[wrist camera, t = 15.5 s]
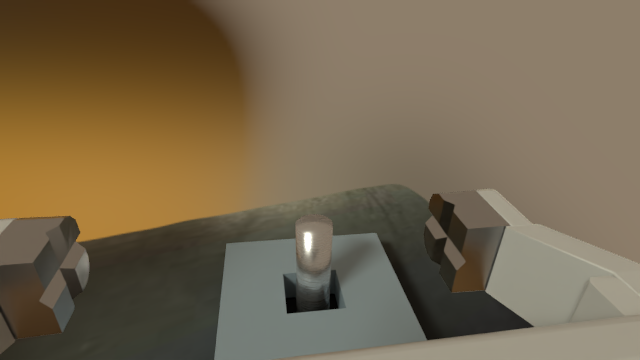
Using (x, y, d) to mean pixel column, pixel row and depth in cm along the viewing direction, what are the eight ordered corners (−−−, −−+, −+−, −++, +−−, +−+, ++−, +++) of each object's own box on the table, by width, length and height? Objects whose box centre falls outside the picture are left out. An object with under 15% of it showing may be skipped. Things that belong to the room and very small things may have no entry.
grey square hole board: (216, 409, 28) (212, 381, 27) (229, 266, 42) (226, 243, 41) (428, 382, 31) (434, 355, 29) (373, 255, 45) (375, 232, 43)
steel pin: (298, 329, 35) (297, 236, 30) (295, 304, 38) (294, 215, 33) (331, 326, 35) (335, 233, 31) (326, 302, 38) (329, 213, 33)
